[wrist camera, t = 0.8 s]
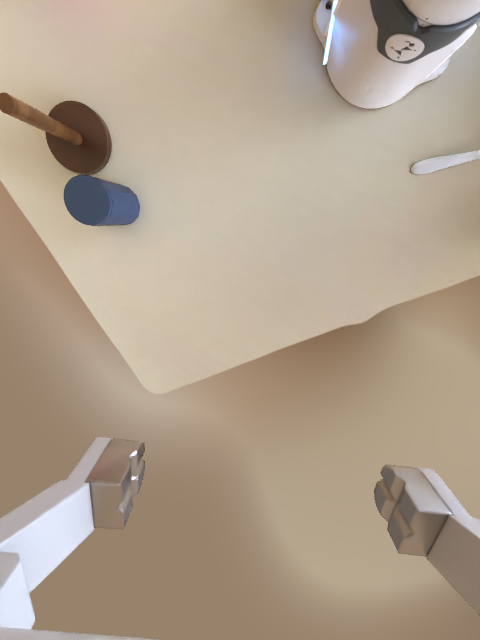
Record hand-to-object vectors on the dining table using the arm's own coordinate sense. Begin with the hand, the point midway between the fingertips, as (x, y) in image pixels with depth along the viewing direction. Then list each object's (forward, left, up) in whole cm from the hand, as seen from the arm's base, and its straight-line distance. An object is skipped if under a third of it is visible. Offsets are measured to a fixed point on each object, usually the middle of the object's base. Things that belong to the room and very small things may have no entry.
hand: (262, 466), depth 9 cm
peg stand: (-11, -30, -40) cm, 51 cm away
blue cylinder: (-4, -23, -40) cm, 46 cm away
